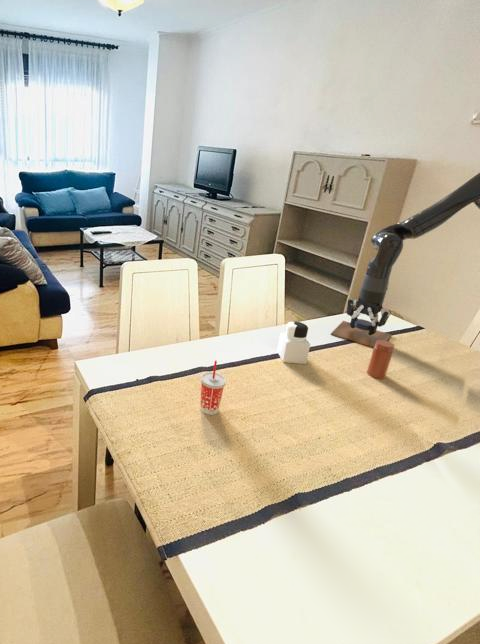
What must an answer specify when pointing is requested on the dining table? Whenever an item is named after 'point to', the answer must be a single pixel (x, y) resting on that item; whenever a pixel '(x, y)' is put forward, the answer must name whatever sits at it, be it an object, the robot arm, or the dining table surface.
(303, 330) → the medicine bottle
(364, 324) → the lid
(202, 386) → the beverage cup
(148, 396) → the dining table surface
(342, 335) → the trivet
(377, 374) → the jar
